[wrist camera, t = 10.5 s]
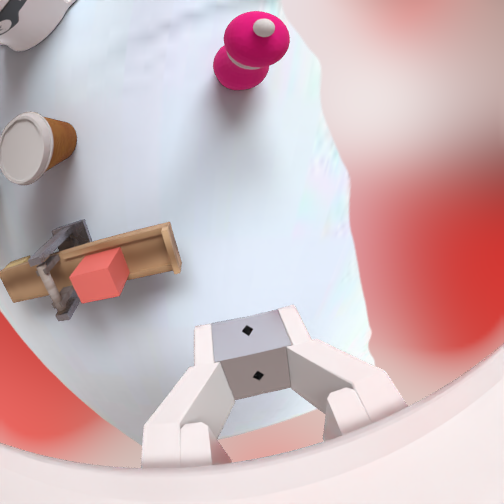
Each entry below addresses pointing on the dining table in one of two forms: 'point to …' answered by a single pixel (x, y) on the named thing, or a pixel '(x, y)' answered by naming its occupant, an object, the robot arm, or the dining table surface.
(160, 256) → the beam
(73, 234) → the stand
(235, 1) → the dining table surface
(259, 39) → the pepper mill
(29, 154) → the disposable coffee cup
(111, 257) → the rider
